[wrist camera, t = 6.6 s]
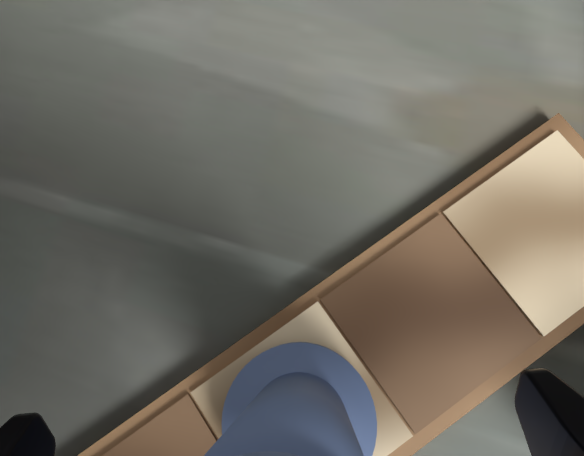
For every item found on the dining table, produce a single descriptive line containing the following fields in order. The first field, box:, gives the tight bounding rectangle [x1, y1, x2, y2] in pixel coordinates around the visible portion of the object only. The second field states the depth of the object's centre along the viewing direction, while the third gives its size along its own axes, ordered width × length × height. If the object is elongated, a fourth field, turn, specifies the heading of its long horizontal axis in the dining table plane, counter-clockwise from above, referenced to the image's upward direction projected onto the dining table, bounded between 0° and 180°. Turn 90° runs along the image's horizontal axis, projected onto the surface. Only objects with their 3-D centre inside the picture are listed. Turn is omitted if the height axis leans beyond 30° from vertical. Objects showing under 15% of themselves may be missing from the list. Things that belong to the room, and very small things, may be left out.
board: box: [77, 113, 584, 456], centre depth 16 cm, size 6×23×1 cm, turn 125°
